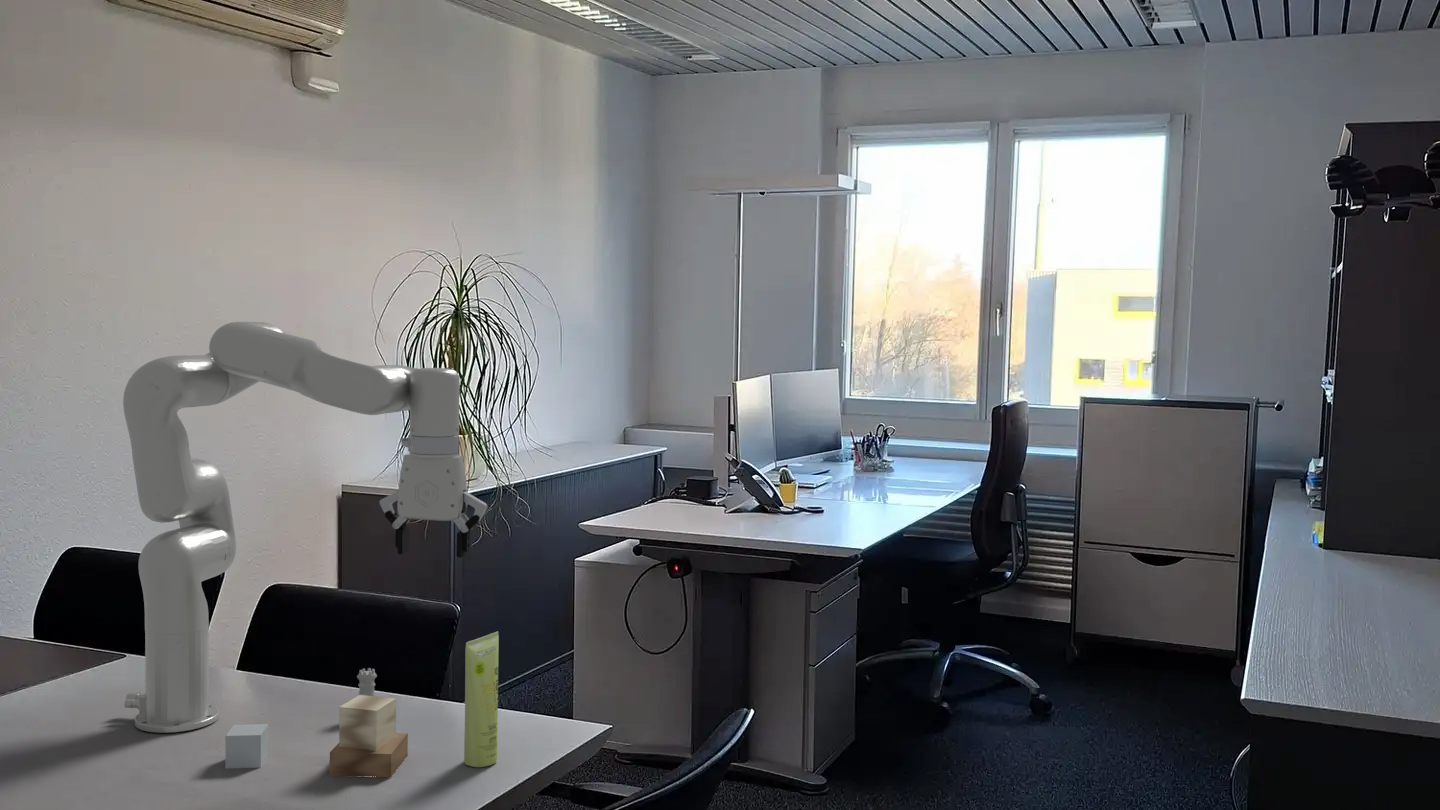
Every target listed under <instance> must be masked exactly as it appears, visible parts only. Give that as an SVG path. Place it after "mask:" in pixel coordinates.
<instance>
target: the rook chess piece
mask: <svg viewBox="0 0 1440 810" xmlns="http://www.w3.org/2000/svg"><path fill="white" fill-rule="evenodd" d="M358 670H359V671H358V674H357V676H356V678H357V680H358V681H359V683H358V687H359V689H358V690H359V691H358V696H359V695H366V696H376V694H375V693H376V692H375V686H376V683H375V679H376V678H377V677H378V675H377V673H376V672H375V671H376V670H375V668H370V667H368V668H367V670H366V668H362V669H358Z"/></svg>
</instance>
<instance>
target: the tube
mask: <svg viewBox="0 0 1440 810" xmlns="http://www.w3.org/2000/svg"><path fill="white" fill-rule="evenodd" d="M499 637H500V636H499V631H495V632H492V633H489V634H487V635H484V636H482V637H478V638H476V639H473V640H469V641H467V642H465V650H464V651H465V655H464V656H465V659H464V661H465V667H464V668H465V671H464V672H465V673H464V674H465V675H464V676H465V677H464V683H465V684H464V687H465V688H464V740H463V741H464V745H463V746H464V747H463V750H464V751H463V753H464V754H463V761H464V764H465V765H466V766H469V767H472V768H485V767H489V766H492V765H494V764H496V763H497V761H498V731H499V730H498V724H499V723H498V722H499V721H498V719H499V713H498V712H499V710H498V709H499V648H500V647H499V645H500V643H499V640H500V639H499Z"/></svg>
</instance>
